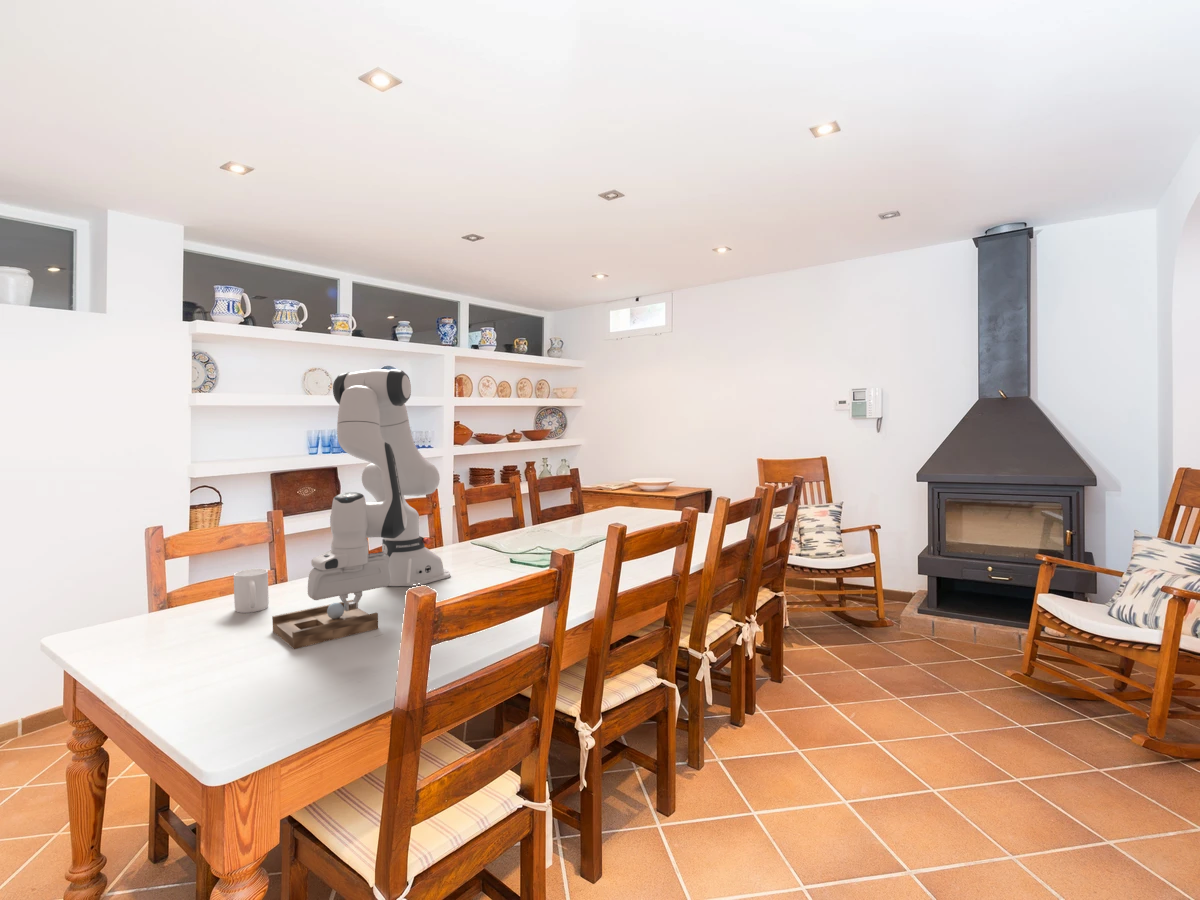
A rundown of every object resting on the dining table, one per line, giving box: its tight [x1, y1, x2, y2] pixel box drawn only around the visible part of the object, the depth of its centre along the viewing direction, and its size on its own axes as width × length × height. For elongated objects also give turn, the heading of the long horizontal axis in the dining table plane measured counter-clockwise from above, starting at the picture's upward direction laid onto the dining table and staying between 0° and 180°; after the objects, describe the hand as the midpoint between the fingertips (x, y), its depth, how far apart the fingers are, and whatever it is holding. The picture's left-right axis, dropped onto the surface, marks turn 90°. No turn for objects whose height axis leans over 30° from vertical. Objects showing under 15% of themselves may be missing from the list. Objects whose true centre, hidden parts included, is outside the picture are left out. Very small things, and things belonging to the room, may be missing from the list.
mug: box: [233, 568, 270, 614], centre depth 170 cm, size 12×8×10 cm
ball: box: [327, 602, 344, 619], centre depth 156 cm, size 4×4×4 cm
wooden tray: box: [271, 599, 379, 650], centre depth 155 cm, size 20×16×4 cm
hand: (351, 609), depth 159 cm, fingers closed
